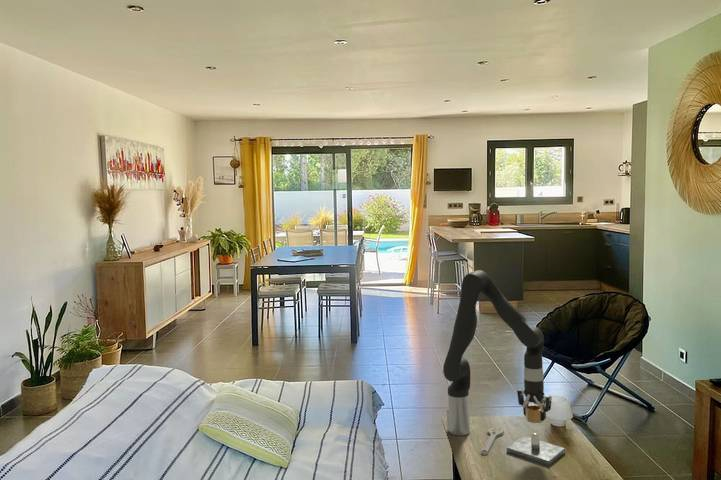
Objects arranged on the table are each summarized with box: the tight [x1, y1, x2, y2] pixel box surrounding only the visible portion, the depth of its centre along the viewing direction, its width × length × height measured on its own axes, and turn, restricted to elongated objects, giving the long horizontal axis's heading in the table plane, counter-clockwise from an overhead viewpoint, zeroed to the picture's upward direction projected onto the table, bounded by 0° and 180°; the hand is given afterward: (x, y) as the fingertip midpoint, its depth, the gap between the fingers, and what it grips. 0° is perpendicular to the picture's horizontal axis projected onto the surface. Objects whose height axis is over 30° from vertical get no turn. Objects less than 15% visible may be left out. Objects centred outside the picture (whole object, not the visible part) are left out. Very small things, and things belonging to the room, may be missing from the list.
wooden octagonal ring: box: [525, 404, 544, 424], centre depth 214 cm, size 6×6×5 cm
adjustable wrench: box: [480, 427, 505, 456], centre depth 227 cm, size 25×6×2 cm, turn 148°
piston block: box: [506, 432, 566, 467], centre depth 215 cm, size 18×14×8 cm
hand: (534, 417), depth 214 cm, fingers closed on wooden octagonal ring, 6 cm apart
